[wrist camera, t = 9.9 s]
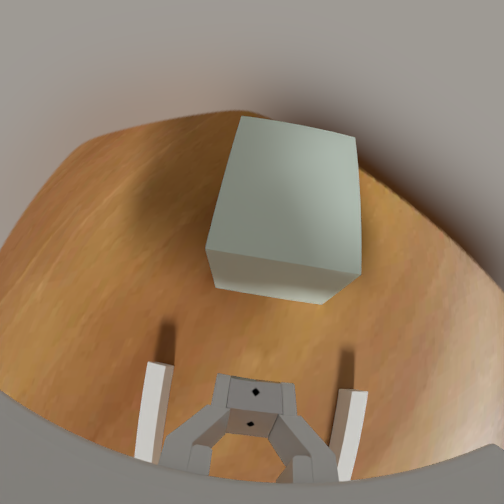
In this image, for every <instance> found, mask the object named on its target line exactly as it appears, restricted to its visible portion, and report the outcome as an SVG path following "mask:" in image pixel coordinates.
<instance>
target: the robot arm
mask: <svg viewBox="0 0 504 504" xmlns="http://www.w3.org/2000/svg"><path fill="white" fill-rule="evenodd" d="M225 433H232V434H240V435H249V436H257V437H265V438H268V440H269V441H270V443H271V445H272V446H273V448H274V449H275V451H276V453H277V454H278V456H279V457H280V459H281V460H282V462H283V463H284V465H285V466H286V468H285V469H284V471H283V472H282V473H281V474H280V476H279V477H278V478H277V480H276V483H268V482H253V481H243V480H234V479H226V478H219V477H213V476H209V469H210V462H211V456H212V449H211V448H212V447H213V446H214V445H215V444H216V443H217V442H218V441H219V440H220V439H221V438H222V437H223V436H224V435H225ZM0 504H504V450H503V449H502V448H500V447H499V446H497V445H495V444H488V445H485V446H483V447H481V448H478V449H476V450H473V451H471V452H468V453H465V454H463V455H460V456H457V457H454V458H451V459H448V460H445V461H442V462H439V463H436V464H432V465H429V466H425V467H421V468H417V469H413V470H409V471H405V472H400V473H396V474H390V475H385V476H379V477H373V478H366V479H359V480H350V481H339V477H338V469H337V462H336V455H335V454H334V452H333V451H332V450H331V449H330V448H329V447H328V446H327V445H326V444H325V443H324V442H323V440H322V439H321V438H320V437H319V436H318V435H317V434H316V433H315V432H314V430H313V429H312V428H311V427H310V426H309V425H308V424H307V422H306V421H305V420H304V419H303V418H302V417H301V416H297V407H296V395H295V385H294V384H293V383H283V382H274V381H265V380H254V379H248V378H242V377H237V376H230V375H225V374H220V373H218V374H217V378H216V383H215V388H214V393H213V398H212V403H211V405H206V406H205V407H204V408H202V409H201V410H200V411H199V412H197V413H196V414H195V415H194V416H192V417H191V418H190V419H188V420H187V421H186V422H185V423H183V424H182V425H181V426H179V427H178V428H177V429H175V430H174V431H173V432H171V433H170V434H169V435H167V436H166V439H165V442H164V446H163V449H162V452H161V456H160V459H159V462H158V464H154V463H150V462H147V461H144V460H140V459H137V458H134V457H131V456H128V455H125V454H122V453H120V452H117V451H114V450H112V449H109V448H106V447H104V446H101V445H99V444H96V443H94V442H92V441H89V440H87V439H85V438H83V437H80V436H78V435H76V434H74V433H72V432H70V431H68V430H66V429H64V428H62V427H60V426H58V425H56V424H54V423H52V422H50V421H49V420H47V419H45V418H43V417H42V416H40V415H38V414H36V413H35V412H33V411H31V410H30V409H28V408H26V407H25V406H23V405H22V404H20V403H19V402H17V401H16V400H14V399H13V398H11V397H10V396H8V395H7V394H5V393H4V392H3V391H1V390H0Z"/></svg>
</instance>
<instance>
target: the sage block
mask: <svg viewBox="0 0 504 504" xmlns="http://www.w3.org/2000/svg"><path fill="white" fill-rule="evenodd" d="M205 250H206V254H207V258H208V261H209V265H210V269H211V272H212V276H213V279H214V283H215V287H216V288H221V289H226V290H232V291H238V292H243V293H249V294H255V295H261V296H268V297H274V298H280V299H287V300H293V301H300V302H307V303H314V304H321V305H322V304H323V303H325V302H326V301H327V300H329V299H330V298H331V297H333V296H334V295H335V294H337V293H338V292H339V291H341V290H342V289H343V288H345V287H346V286H347V285H348V284H350V283H351V282H352V281H354V280H355V279H356V278H357V277H359V276H360V275H361V206H360V187H359V173H358V162H357V151H356V143H355V137H351V136H347V135H343V134H339V133H335V132H331V131H326V130H321V129H317V128H312V127H308V126H303V125H298V124H292V123H287V122H281V121H275V120H268V119H262V118H255V117H247V116H241V119H240V122H239V125H238V129H237V132H236V135H235V139H234V142H233V146H232V149H231V153H230V156H229V159H228V163H227V167H226V170H225V174H224V177H223V181H222V185H221V188H220V192H219V196H218V200H217V203H216V207H215V211H214V215H213V219H212V223H211V227H210V231H209V235H208V239H207V243H206V247H205Z"/></svg>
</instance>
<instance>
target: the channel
mask: <svg viewBox="0 0 504 504" xmlns="http://www.w3.org/2000/svg"><path fill="white" fill-rule="evenodd" d="M173 370H174V366H172V365H168V364H164V363H160V362H148V364H147V370H146V376H145V382H144V388H143V394H142V401H141V407H140V414H139V422H138V430H137V438H136V448H135V458H137V459H140V460H144V461H147V462H150V463H154V464H158V462H159V459H160V456H161V448H162V441H163V433H164V426H165V419H166V413H167V406H168V400H169V393H170V387H171V381H172V376H173ZM367 395H368V391H362V390H356V389H339V393H338V400H337V406H336V412H335V418H334V423H333V429H332V434H331V439H330V444H329V448H330V449H331V450H332V451H333V452H334V454H335V455H336V462H337V469H338V477H339V481H350V478H351V475H352V471H353V467H354V463H355V459H356V454H357V450H358V445H359V441H360V436H361V431H362V425H363V420H364V414H365V408H366V402H367Z"/></svg>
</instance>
